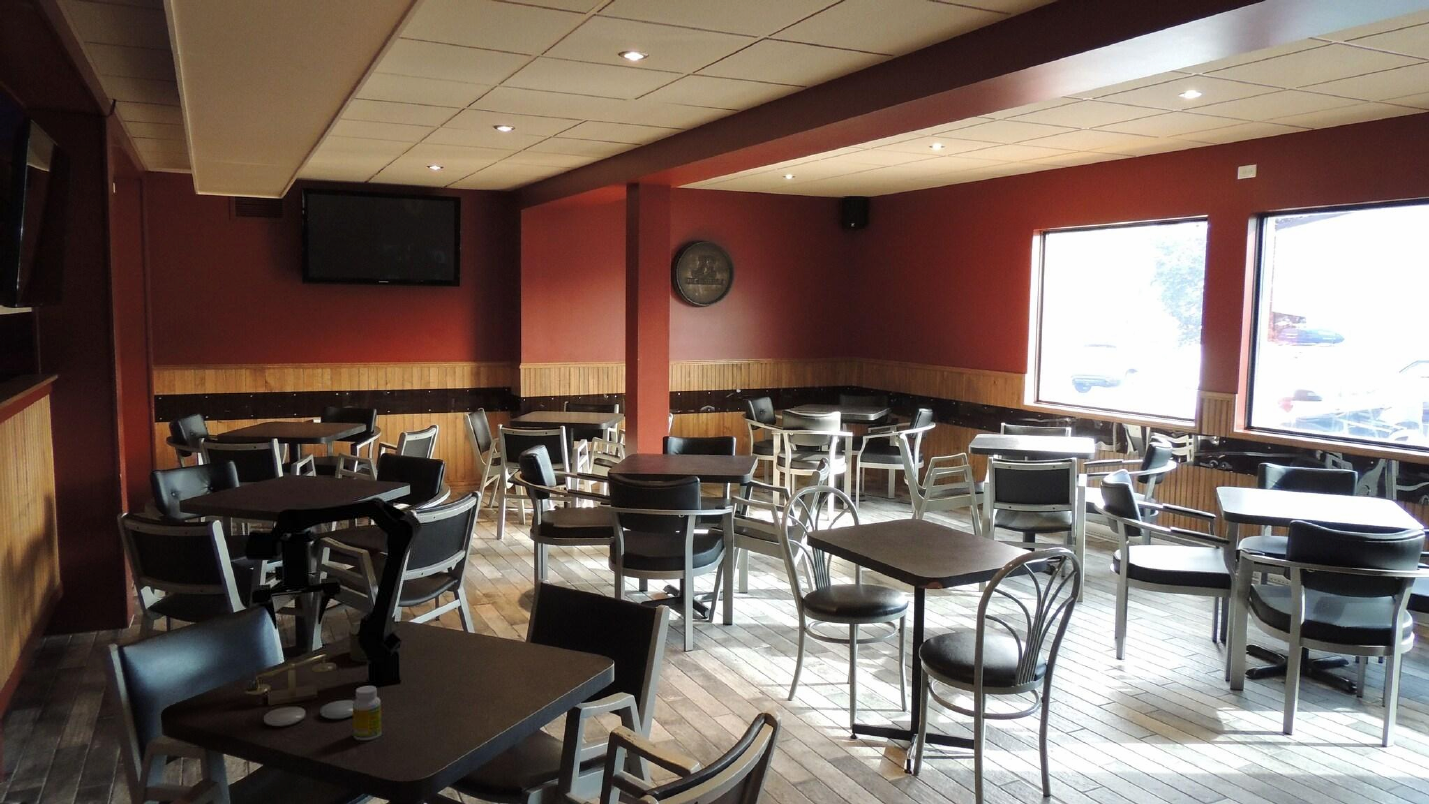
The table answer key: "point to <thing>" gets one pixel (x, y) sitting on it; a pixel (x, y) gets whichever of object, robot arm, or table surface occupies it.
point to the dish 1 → (284, 716)
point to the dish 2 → (338, 709)
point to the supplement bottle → (366, 714)
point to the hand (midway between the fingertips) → (297, 626)
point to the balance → (293, 692)
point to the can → (355, 648)
